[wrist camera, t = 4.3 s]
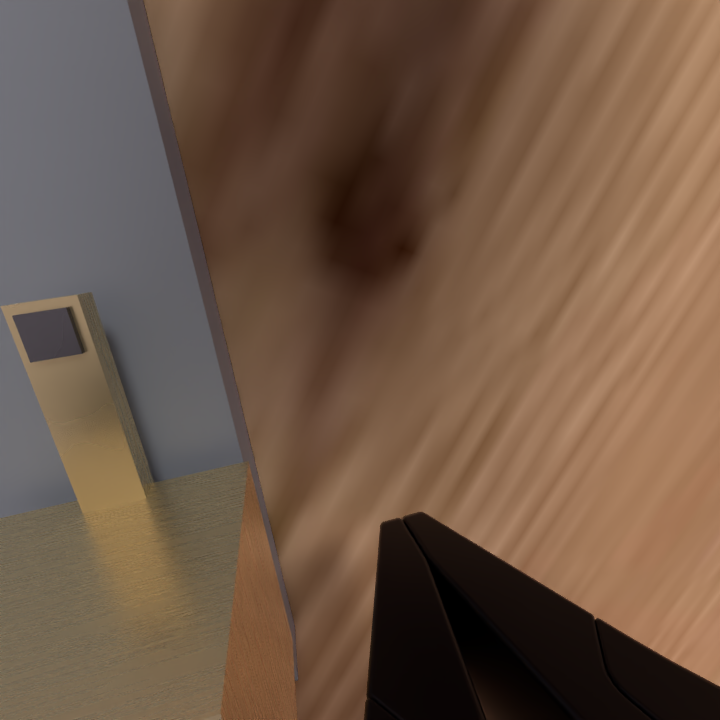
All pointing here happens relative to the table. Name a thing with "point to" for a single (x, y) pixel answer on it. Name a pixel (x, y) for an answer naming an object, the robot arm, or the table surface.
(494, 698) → the robot arm
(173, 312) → the hole plate
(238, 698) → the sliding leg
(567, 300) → the table surface
